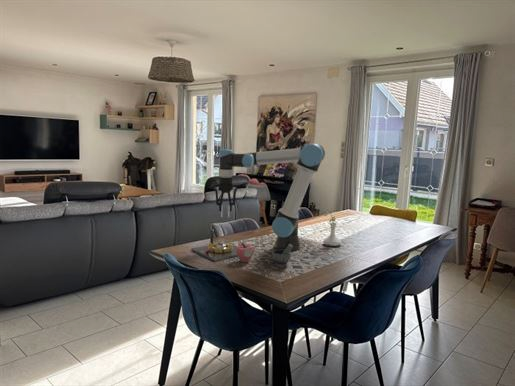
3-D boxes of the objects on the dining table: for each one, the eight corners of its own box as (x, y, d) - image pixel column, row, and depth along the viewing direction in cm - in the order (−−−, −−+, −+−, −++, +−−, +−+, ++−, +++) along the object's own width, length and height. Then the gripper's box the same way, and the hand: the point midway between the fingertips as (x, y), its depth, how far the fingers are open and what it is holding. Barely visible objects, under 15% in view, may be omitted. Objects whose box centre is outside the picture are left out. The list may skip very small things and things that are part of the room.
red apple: (239, 265, 197) (239, 246, 195) (233, 259, 204) (233, 241, 203) (256, 263, 200) (256, 244, 199) (250, 258, 208) (250, 240, 207)
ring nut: (236, 250, 217) (237, 233, 215) (217, 254, 209) (217, 237, 207) (220, 243, 229) (220, 228, 228) (201, 247, 221) (201, 231, 220)
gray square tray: (250, 253, 216) (250, 245, 216) (214, 261, 201) (214, 252, 200) (225, 243, 235) (226, 236, 234) (191, 250, 219) (191, 242, 219)
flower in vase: (329, 241, 246) (331, 202, 243) (345, 245, 238) (347, 205, 235) (317, 244, 237) (319, 205, 234) (332, 249, 229) (335, 207, 226)
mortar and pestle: (268, 265, 197) (268, 242, 195) (277, 260, 205) (278, 239, 203) (287, 270, 191) (288, 246, 189) (296, 265, 199) (297, 242, 197)
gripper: (239, 176, 225) (238, 215, 229) (211, 175, 223) (210, 215, 226) (240, 177, 218) (240, 218, 222) (211, 177, 215) (211, 218, 219)
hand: (225, 216), depth 224 cm, fingers open, 3 cm apart
